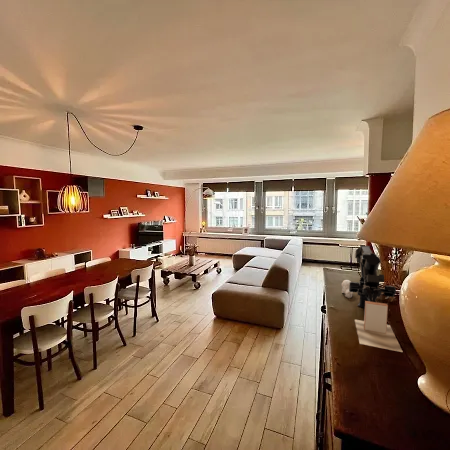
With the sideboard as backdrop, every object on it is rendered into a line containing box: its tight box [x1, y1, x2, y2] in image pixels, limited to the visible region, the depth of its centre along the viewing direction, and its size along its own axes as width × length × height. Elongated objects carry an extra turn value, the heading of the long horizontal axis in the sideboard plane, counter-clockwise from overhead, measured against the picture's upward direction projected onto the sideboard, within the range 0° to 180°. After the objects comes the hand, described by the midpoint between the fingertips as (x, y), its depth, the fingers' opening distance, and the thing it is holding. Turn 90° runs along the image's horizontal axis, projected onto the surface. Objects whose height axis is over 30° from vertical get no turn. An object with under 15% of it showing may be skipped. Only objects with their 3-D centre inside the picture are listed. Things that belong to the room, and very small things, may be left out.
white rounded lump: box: [341, 279, 354, 299], centre depth 149 cm, size 6×8×12 cm
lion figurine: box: [378, 285, 397, 302], centre depth 145 cm, size 15×5×9 cm, turn 63°
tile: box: [363, 301, 389, 333], centre depth 106 cm, size 2×8×12 cm, turn 67°
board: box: [354, 319, 403, 353], centre depth 104 cm, size 22×14×1 cm, turn 157°
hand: (372, 306), depth 113 cm, fingers closed
